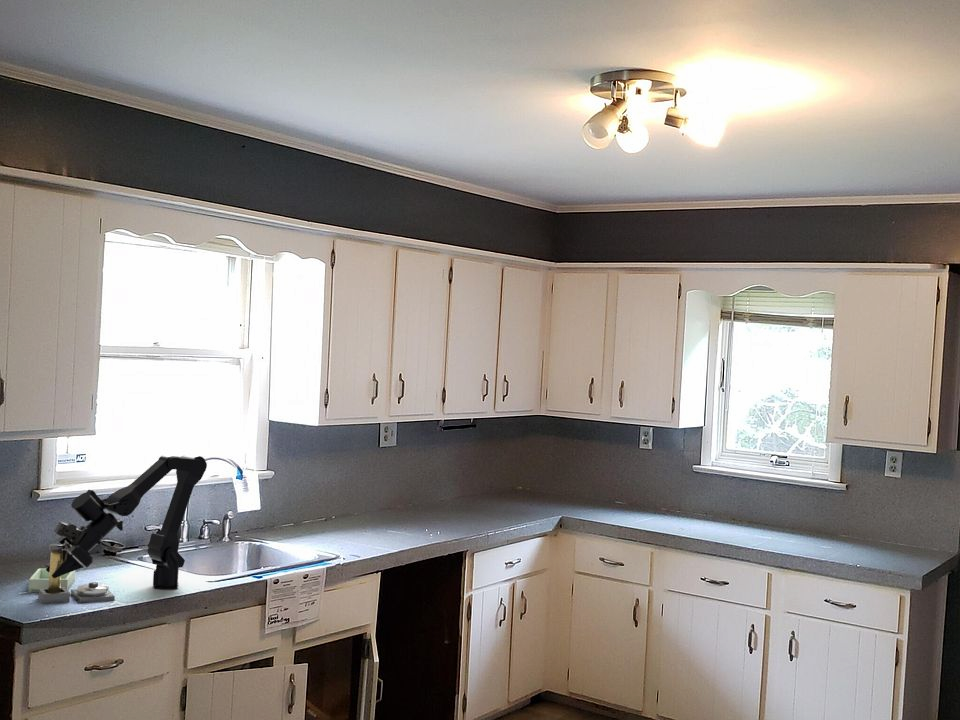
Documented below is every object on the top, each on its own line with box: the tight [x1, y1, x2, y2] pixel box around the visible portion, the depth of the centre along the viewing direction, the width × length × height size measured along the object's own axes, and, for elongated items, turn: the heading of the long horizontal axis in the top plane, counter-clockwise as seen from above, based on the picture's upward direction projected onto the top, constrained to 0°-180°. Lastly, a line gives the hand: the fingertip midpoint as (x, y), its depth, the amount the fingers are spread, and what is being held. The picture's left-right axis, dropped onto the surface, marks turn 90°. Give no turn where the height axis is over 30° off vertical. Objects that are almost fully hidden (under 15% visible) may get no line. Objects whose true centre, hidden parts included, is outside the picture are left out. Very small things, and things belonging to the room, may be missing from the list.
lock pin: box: [48, 543, 65, 593], centre depth 266 cm, size 4×4×15 cm
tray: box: [27, 568, 76, 593], centre depth 281 cm, size 10×14×4 cm
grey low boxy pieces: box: [37, 581, 116, 605], centre depth 269 cm, size 18×11×4 cm, turn 124°
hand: (49, 574), depth 265 cm, fingers open, 7 cm apart
